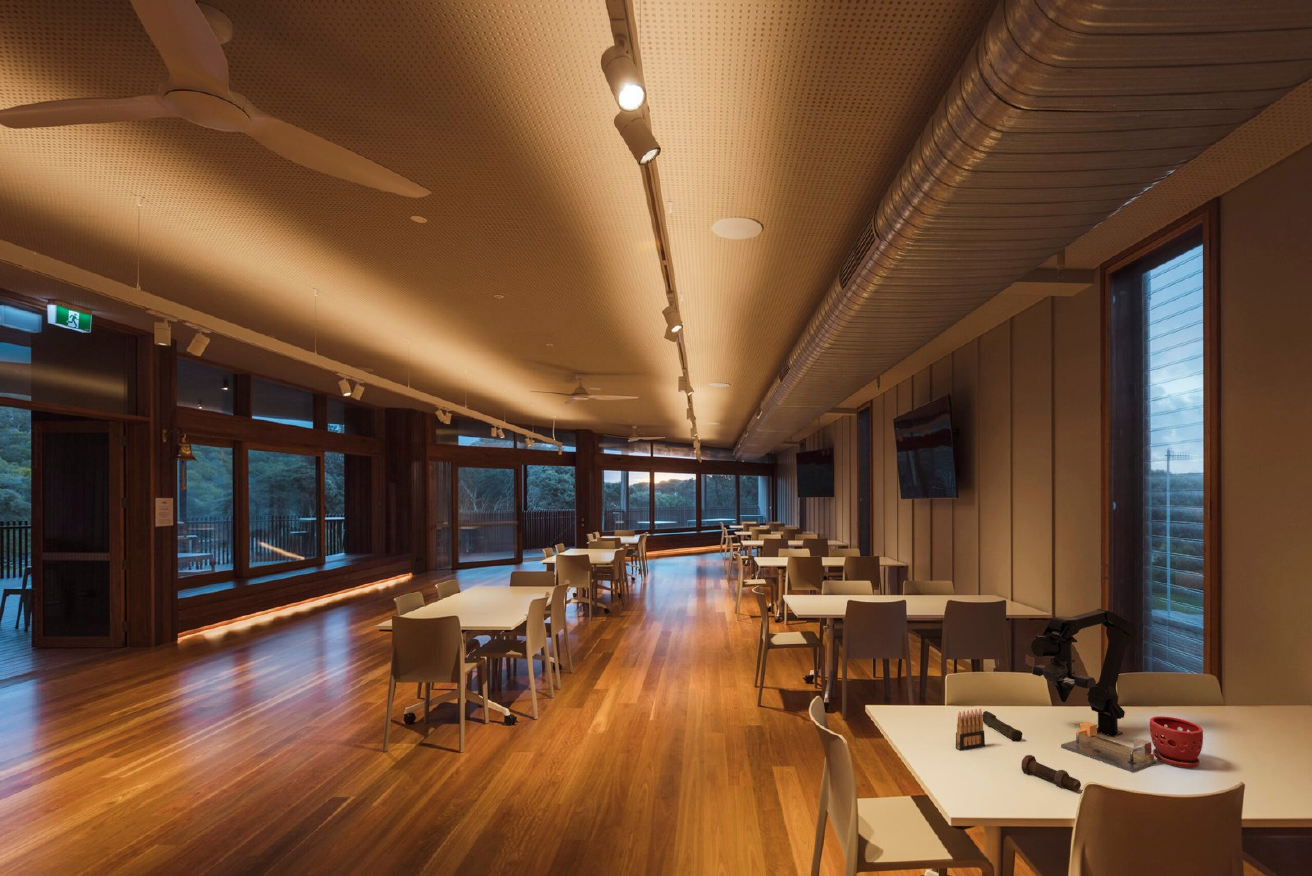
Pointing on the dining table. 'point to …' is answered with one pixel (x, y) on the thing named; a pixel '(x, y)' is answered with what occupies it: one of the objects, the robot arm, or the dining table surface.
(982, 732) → the ammunition clip
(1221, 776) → the dining table surface
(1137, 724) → the dining table surface
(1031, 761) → the bolt
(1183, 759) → the plant pot
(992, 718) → the hand tool
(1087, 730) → the orange block with bar
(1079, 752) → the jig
